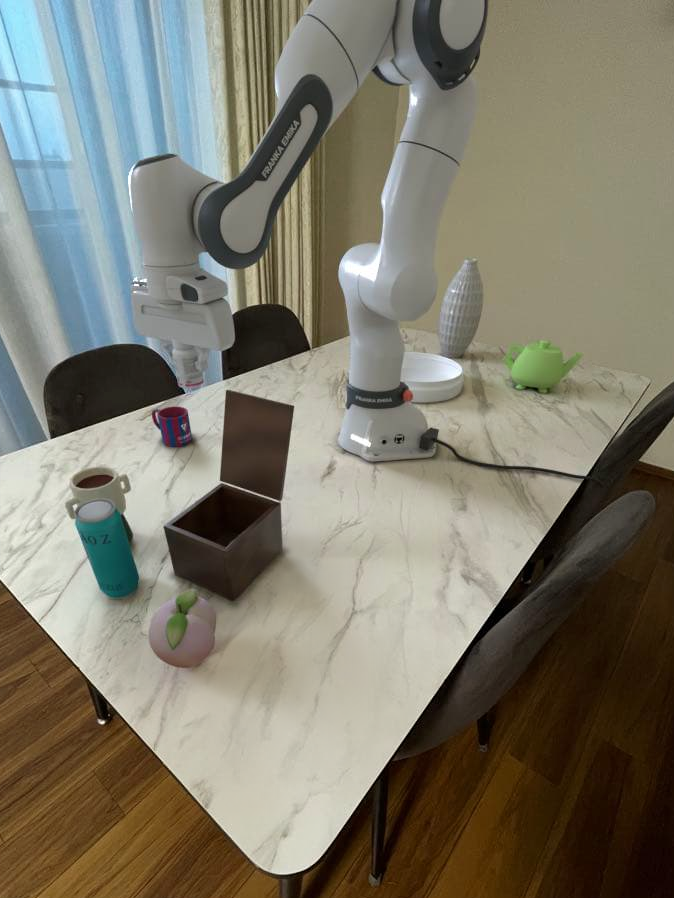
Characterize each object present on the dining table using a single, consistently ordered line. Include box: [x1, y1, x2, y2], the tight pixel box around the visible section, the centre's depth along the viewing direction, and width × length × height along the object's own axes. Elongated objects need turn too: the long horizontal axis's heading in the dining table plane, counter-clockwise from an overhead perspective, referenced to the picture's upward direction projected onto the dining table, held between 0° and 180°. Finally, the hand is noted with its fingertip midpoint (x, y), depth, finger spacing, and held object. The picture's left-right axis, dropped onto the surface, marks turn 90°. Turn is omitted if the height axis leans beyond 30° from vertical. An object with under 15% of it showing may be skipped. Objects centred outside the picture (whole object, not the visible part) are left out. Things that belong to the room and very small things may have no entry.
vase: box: [438, 258, 484, 359], centre depth 151 cm, size 13×13×28 cm
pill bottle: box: [172, 340, 205, 390], centre depth 85 cm, size 5×5×8 cm
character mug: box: [64, 466, 134, 545], centre depth 76 cm, size 11×7×13 cm, turn 142°
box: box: [162, 482, 283, 603], centre depth 73 cm, size 14×12×10 cm
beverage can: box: [74, 498, 140, 601], centre depth 67 cm, size 6×6×15 cm
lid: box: [219, 389, 295, 502], centre depth 72 cm, size 14×12×1 cm
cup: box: [151, 405, 193, 447], centre depth 108 cm, size 7×10×7 cm
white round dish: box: [401, 351, 464, 404], centre depth 136 cm, size 27×27×6 cm
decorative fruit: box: [147, 588, 218, 669], centre depth 59 cm, size 9×8×10 cm
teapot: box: [502, 339, 583, 394], centre depth 134 cm, size 20×13×13 cm
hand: (188, 367), depth 86 cm, fingers closed on pill bottle, 5 cm apart
